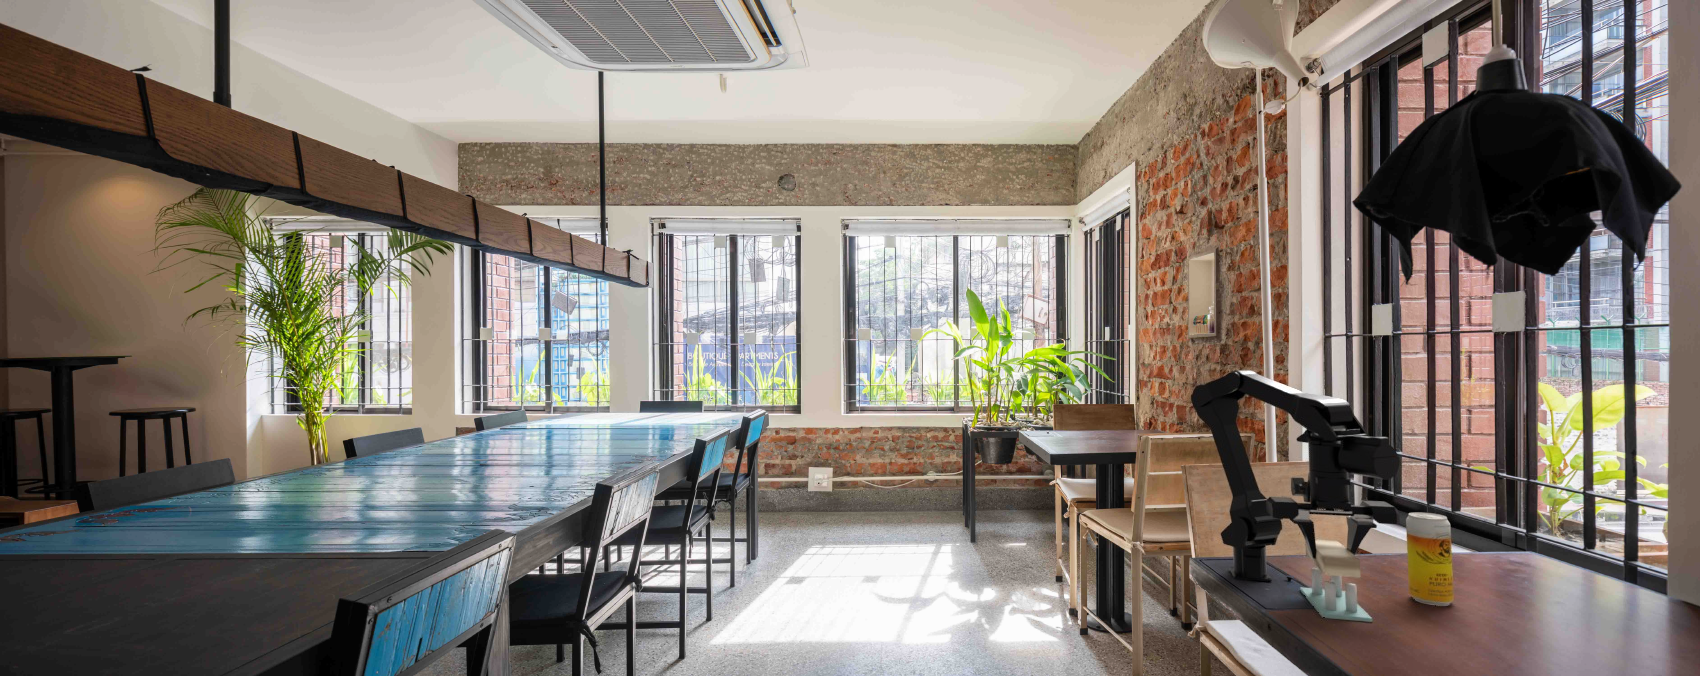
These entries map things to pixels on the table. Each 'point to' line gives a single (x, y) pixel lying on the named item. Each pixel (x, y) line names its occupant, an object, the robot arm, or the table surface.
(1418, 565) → the beer can
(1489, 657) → the table surface
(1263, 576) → the robot arm
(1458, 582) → the table surface
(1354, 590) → the peg stand
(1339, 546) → the board
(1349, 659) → the table surface
